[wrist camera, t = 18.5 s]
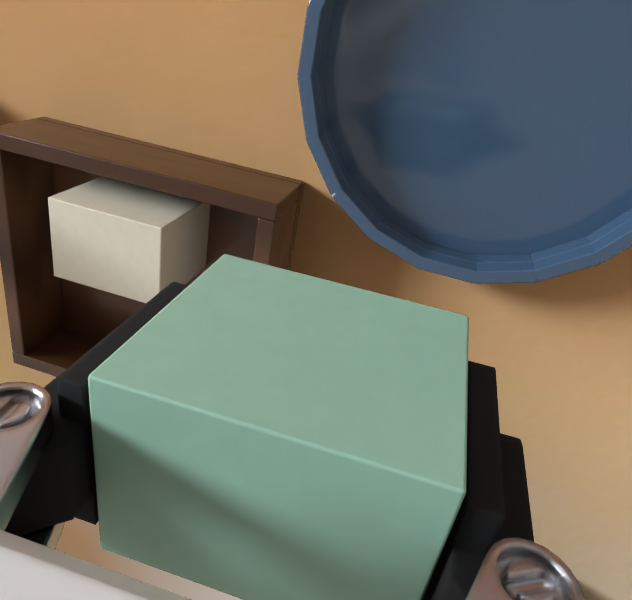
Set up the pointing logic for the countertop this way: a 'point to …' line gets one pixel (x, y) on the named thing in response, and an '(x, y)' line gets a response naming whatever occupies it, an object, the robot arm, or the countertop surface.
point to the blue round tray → (475, 129)
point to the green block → (284, 437)
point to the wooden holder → (132, 167)
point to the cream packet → (127, 237)
